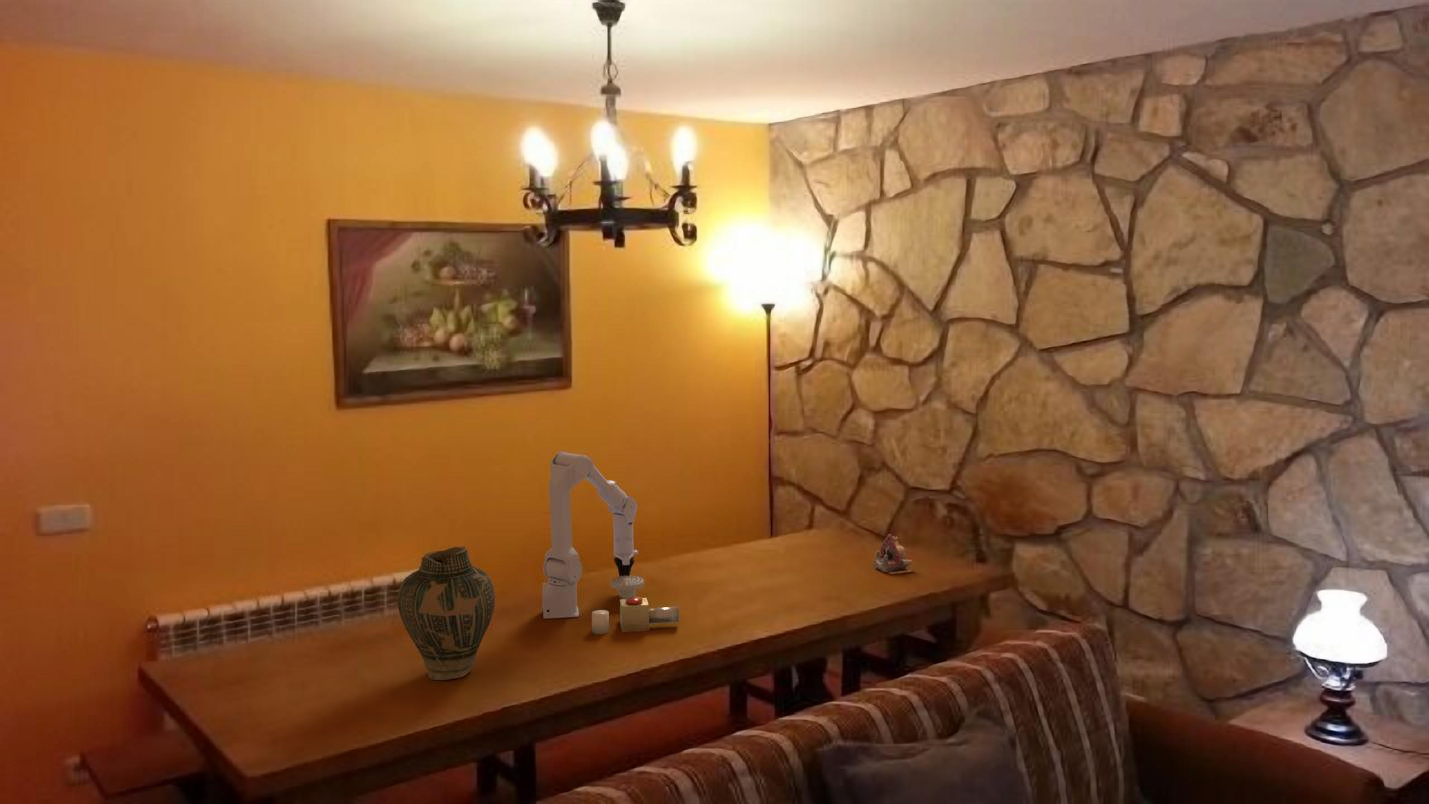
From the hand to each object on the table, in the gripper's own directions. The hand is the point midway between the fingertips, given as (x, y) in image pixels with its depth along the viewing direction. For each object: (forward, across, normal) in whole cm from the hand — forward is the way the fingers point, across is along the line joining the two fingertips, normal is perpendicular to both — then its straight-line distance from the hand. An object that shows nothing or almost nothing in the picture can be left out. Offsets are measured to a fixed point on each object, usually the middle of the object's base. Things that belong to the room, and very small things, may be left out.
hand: (624, 582), depth 332 cm
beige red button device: (+3, -29, -4) cm, 29 cm away
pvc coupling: (+3, -32, +9) cm, 34 cm away
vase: (+3, -56, +46) cm, 73 cm away
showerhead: (+3, -10, 0) cm, 10 cm away
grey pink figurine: (+3, +10, -84) cm, 84 cm away
